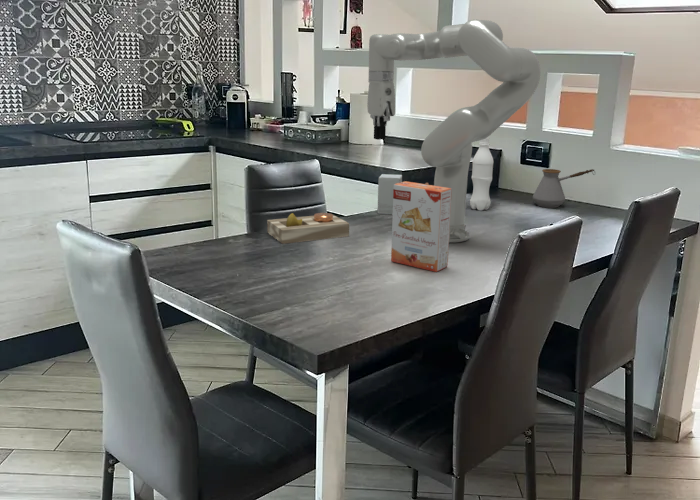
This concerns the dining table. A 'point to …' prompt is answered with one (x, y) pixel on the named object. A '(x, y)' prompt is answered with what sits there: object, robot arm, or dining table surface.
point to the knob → (293, 221)
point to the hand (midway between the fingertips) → (379, 138)
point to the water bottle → (482, 176)
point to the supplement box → (386, 192)
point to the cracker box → (421, 225)
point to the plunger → (323, 217)
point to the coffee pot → (552, 188)
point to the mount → (307, 229)
